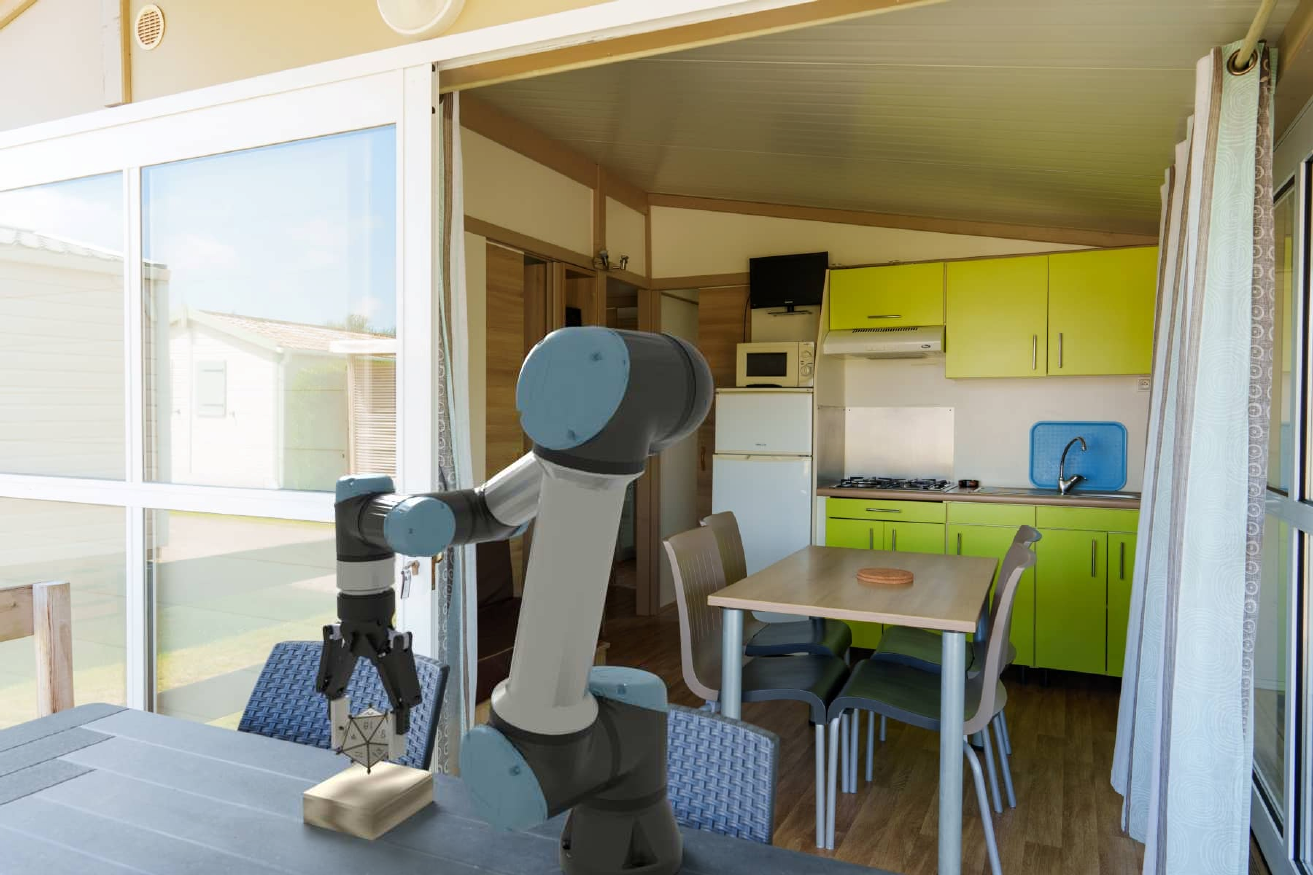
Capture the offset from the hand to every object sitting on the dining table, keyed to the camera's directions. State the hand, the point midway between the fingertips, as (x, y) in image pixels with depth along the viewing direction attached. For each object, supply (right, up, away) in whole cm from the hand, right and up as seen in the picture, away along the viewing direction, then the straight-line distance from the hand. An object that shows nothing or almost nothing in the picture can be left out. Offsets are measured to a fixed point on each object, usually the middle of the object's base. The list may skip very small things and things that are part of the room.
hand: (368, 750), depth 116 cm
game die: (0, -2, 0) cm, 2 cm away
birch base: (0, -8, 0) cm, 8 cm away
